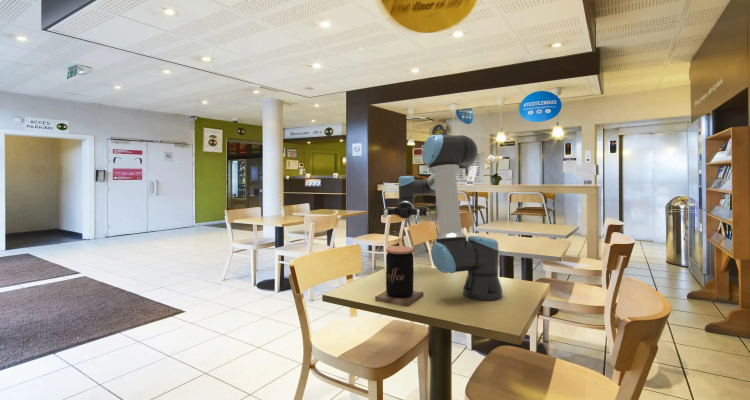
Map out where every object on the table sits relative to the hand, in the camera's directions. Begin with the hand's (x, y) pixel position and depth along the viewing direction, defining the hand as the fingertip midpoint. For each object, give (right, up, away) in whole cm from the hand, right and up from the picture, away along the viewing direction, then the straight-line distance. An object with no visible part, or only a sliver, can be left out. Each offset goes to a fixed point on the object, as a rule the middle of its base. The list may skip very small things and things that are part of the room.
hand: (401, 214), depth 157 cm
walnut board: (-1, -33, -8) cm, 33 cm away
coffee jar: (-1, -31, -8) cm, 32 cm away
